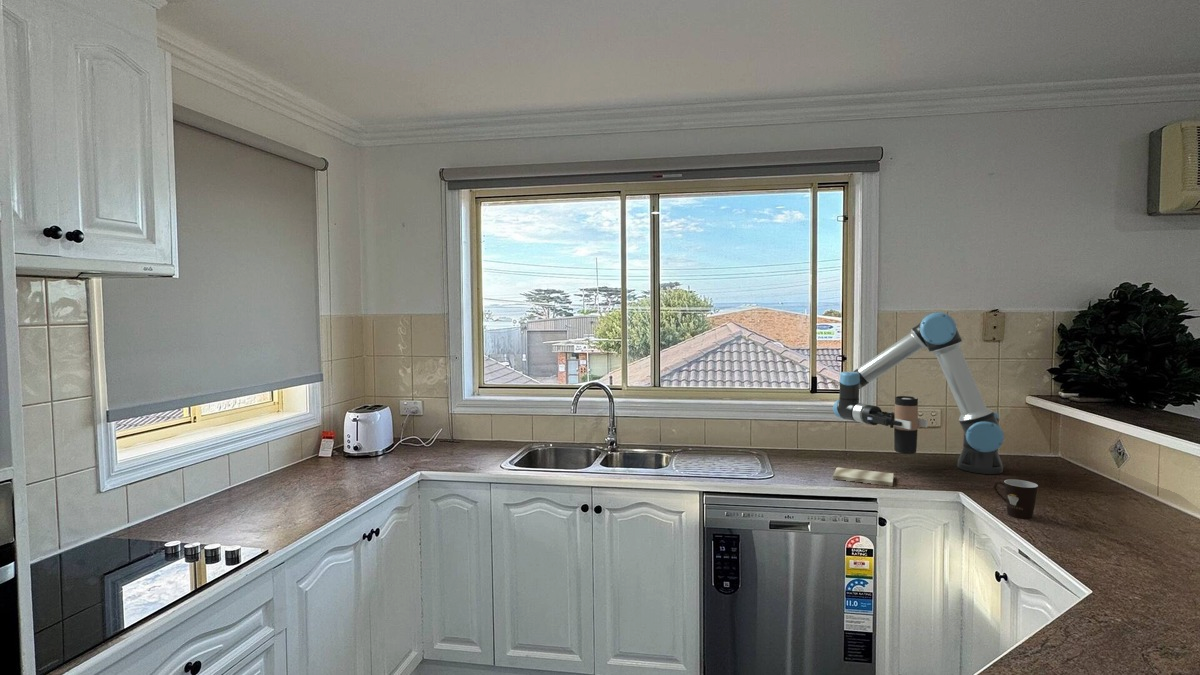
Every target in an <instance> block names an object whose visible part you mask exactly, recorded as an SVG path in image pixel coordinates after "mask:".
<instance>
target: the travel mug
mask: <svg viewBox="0 0 1200 675" xmlns="http://www.w3.org/2000/svg"><path fill="white" fill-rule="evenodd" d="M918 401H919V399H918V397H917V398H915V397H914V396H909V395H899V396H895V397H894V413H895V419H900V420H905V421H910V422H911V429H905V428H901V427H896V426H894V433H893V434H894V451H895V452H897V453H898V454H899V453H900V454H907V455H912V454H916V453H917V446H918V430H919V428H918V427H919V426H918V418H919V417H918V416H919V415H918V414H919V410H918V408H919V402H918Z"/></svg>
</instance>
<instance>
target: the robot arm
mask: <svg viewBox="0 0 1200 675" xmlns="http://www.w3.org/2000/svg"><path fill="white" fill-rule="evenodd" d="M958 330H959V329H958V328H957V324H956V322H955V320H954V318H953V317H951V316H950V315H949V314H947V313H945V312H940V311H939V312H937V311H935V312H931V313H930V314H928V315H926V316H924V318H923V319H922V320H921V321H920V322H919V323H918V324H916V325H915V326H914V327H913V328H911V330H910V332H909V333H908V334H906V335H905V336H903V337H902V338H901V339H899V340H898V341H896V342H895V343H893V344H892V345H890V346H888V347H887V348H886V349H884V350H883V351H882V352H880V353H878V354H876V356H873V357H872V358H871V359H869V360H868V361H866V362H865V363H863V364H862V365H860V366H859V367H858V368H856V369H854V370H853V371H841V372H840V374H839V380H838V381H839V398H838V399H837V400H835V402H834V404H833V406H832V412H833V413H834V414H833V415H834V416H836V417H837V418H841V419H843V420H847V421H852V422H858V423H860V424H861V425H863V424H866V425H870V426H877V425H882V426H885V427H890V428H891V429H893V428H894V426H896V427H901V428H905V429H911V422H910V421H905V420H900V419H895V411H894V412H888V411H883V410H882V408H880V406H877V405H871V404H868V403H862V402H861V403H860V390H861V389H862V388H864V387H865V386H866V385H868V384H869V383H871V382H873V381H874V380H876V379H877V378H879V377H880V376H882V375H884V374H885V373H887V372H888V371H889V370H891V369H892V368H894V367H896V366H897V365H899V364H900V363H902V362H904V361H905V360H907V359H908V358H910V357H911V356H913V355H914V354H916V353H917V352H919V351H921V350H922V349H927V350H928V352H929V353H931V354H933V355H935V357H936V359H937V361H938V364H939V366H940V368H941V370H942V373H943V376H944V378H945V380H946V382H947V385H948V387H949V389H950V391H951V394H952V396H953V398H954V401H955V403H956V406H957V408H958V410H959V414H960V415H959V418H958V421H959V424H960V426H961V429H962V430H963V437H962V438H963V440H962V441H963V442H962V443H963V444H962V445H963V446H962V450H961V453H960V455H959V457H958V458H957V468H958V469H960V470H962V471H965V472H969V473H975V474H982V475H983V474H984V475H999V474H1002V473H1004V472H1003V470H1004V466H1003V462H1002V460H1001V457H1000V454H999V448H1000V447H1002V444H1003V443H1004V439H1005V434H1004V431H1003V429H1002V428H1001V427H1000V424H999V421H1000V416H999V413H998V412H996V411H995V412H994V411H993V409H990V408H988V407H987V405H986V404H985V402H984V399H983V398H982V397H983V396H982V395H981V392H980V390H979V388H978V385H977V383H976V381H975V379H974V376H973V374H972V372H971V369H970V367H969V365H968V362H967V361H966V358H965V354H964V353H963V351H962V348H961V345H962V343H963V339H962V337H961V335H960V332H959V331H958ZM918 427H922V428H926V429H927V428H928V419H924V418H919V417H918Z"/></svg>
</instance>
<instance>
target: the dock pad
mask: <svg viewBox="0 0 1200 675" xmlns="http://www.w3.org/2000/svg"><path fill="white" fill-rule="evenodd" d="M833 479H837V480H836V481H841V480H846V481H845V482H850V481H855V482H854V483H858V482H863V483H862V484H867V483H871V484H870V485H875V484H879V485H878V486H884V485H889V486H888V487H893V486H894V472H884V471H877V470H876V471H875V470H865V469H856V468H846V467H836V469H835V471H834V473H833V475H832V480H833Z"/></svg>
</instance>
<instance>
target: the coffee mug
mask: <svg viewBox="0 0 1200 675" xmlns="http://www.w3.org/2000/svg"><path fill="white" fill-rule="evenodd" d="M997 485H1001V486H1003V487H1004V494H1005V497H1004V496H1003V495H1002V494H1001V493H999V491H998V490H997ZM1038 488H1039V485H1038V484H1037V483H1035V482H1032V481H1028V480H1023V479H1022V480H1021V479H1005V480H1004V481H1002V482H1001V481H997V482H995V483H994V485H993V489H994V491H995V493H996V494H997V495H998V497H1000V498H1001V499H1002V500H1003V501H1004V502H1005V505H1006V514H1007V515H1008V516H1010V517H1011V518H1015V519H1020V520H1031V519H1033V518H1034V511H1035V505H1036V500H1037V493H1038Z"/></svg>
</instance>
